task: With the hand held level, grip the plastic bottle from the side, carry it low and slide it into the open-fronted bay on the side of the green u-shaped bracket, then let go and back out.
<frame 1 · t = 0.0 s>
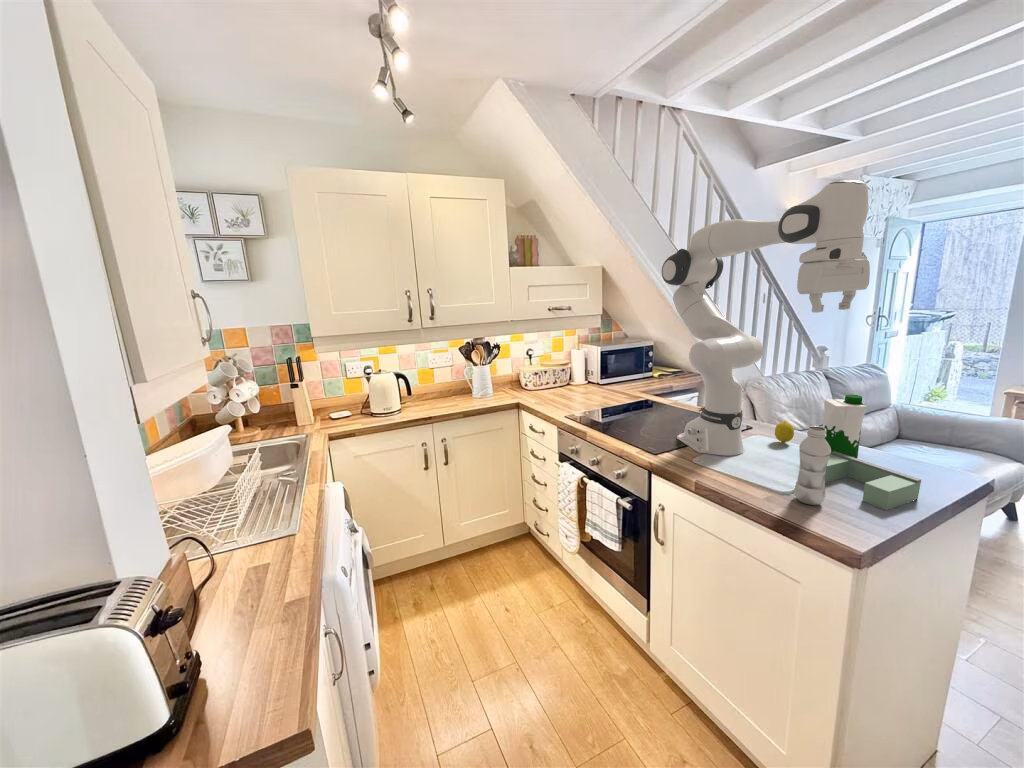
hand: (830, 310, 97), 48 cm above the worktop, tool pointing down, fingers open, 8 cm apart
milk carton: (837, 457, 125), on the worktop
plastic bottle: (808, 502, 101), on the worktop
lemon: (783, 443, 138), on the worktop
green u-shaped bracket: (856, 487, 106), on the worktop
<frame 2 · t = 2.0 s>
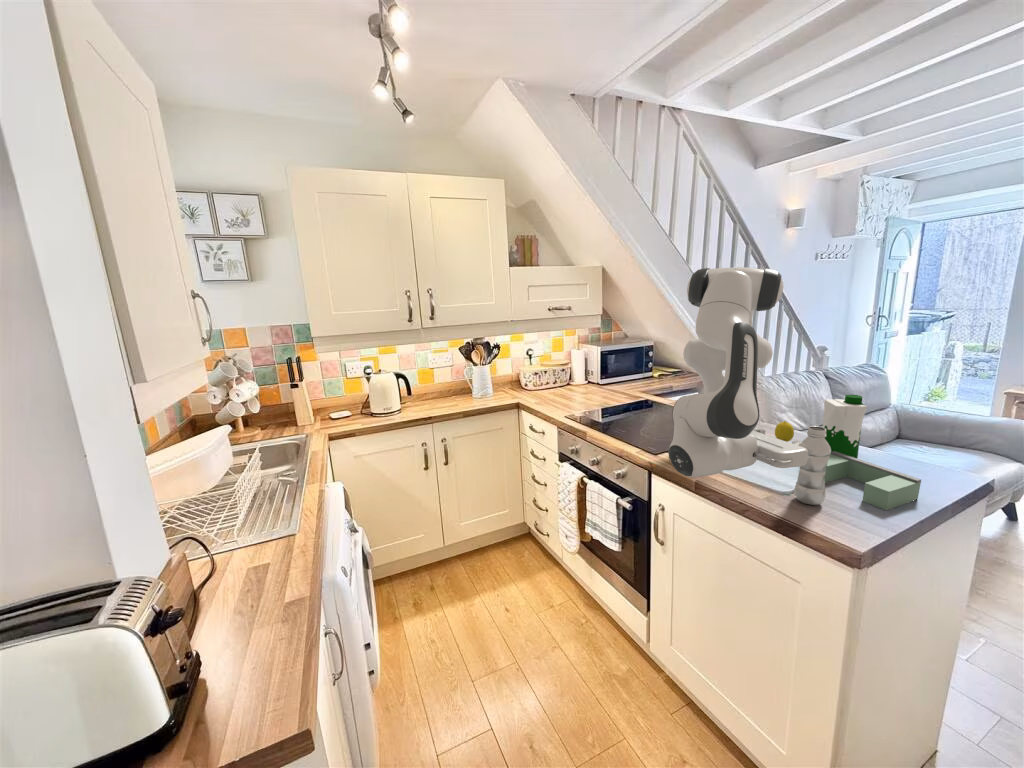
hand: (780, 438, 93), 20 cm above the worktop, tool horizontal, fingers open, 8 cm apart
nothing on the worktop moved.
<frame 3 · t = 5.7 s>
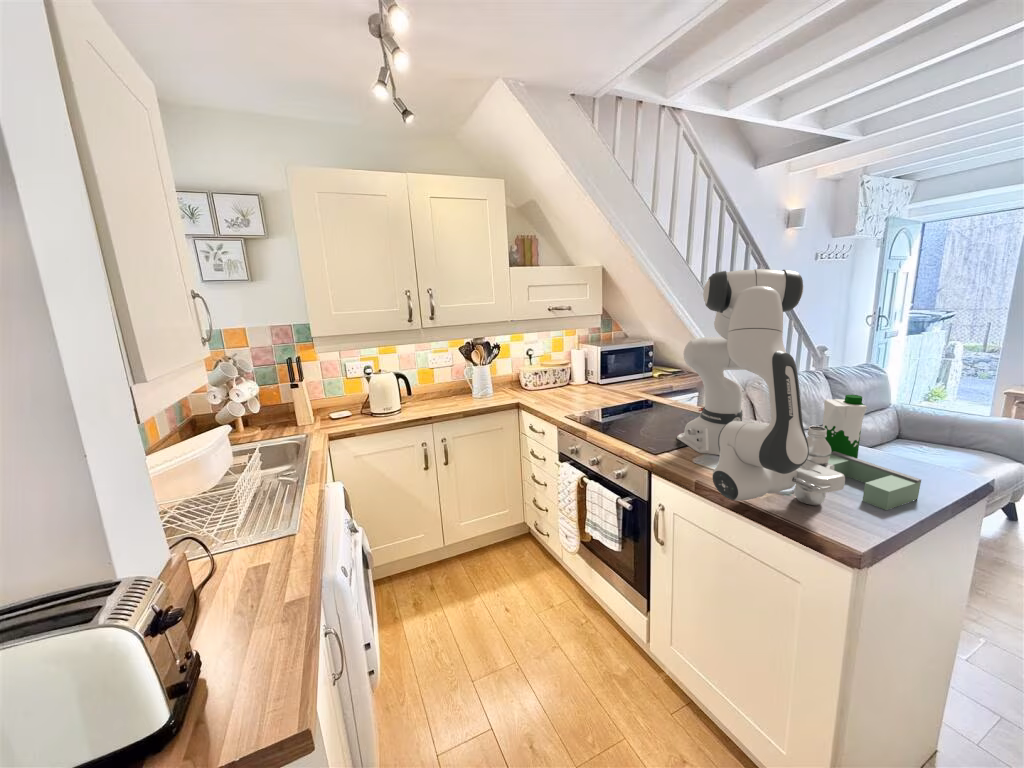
hand: (815, 461, 99), 11 cm above the worktop, tool horizontal, fingers closed on plastic bottle, 6 cm apart
plastic bottle: (808, 502, 101), on the worktop, touching gripper
everything else where it was.
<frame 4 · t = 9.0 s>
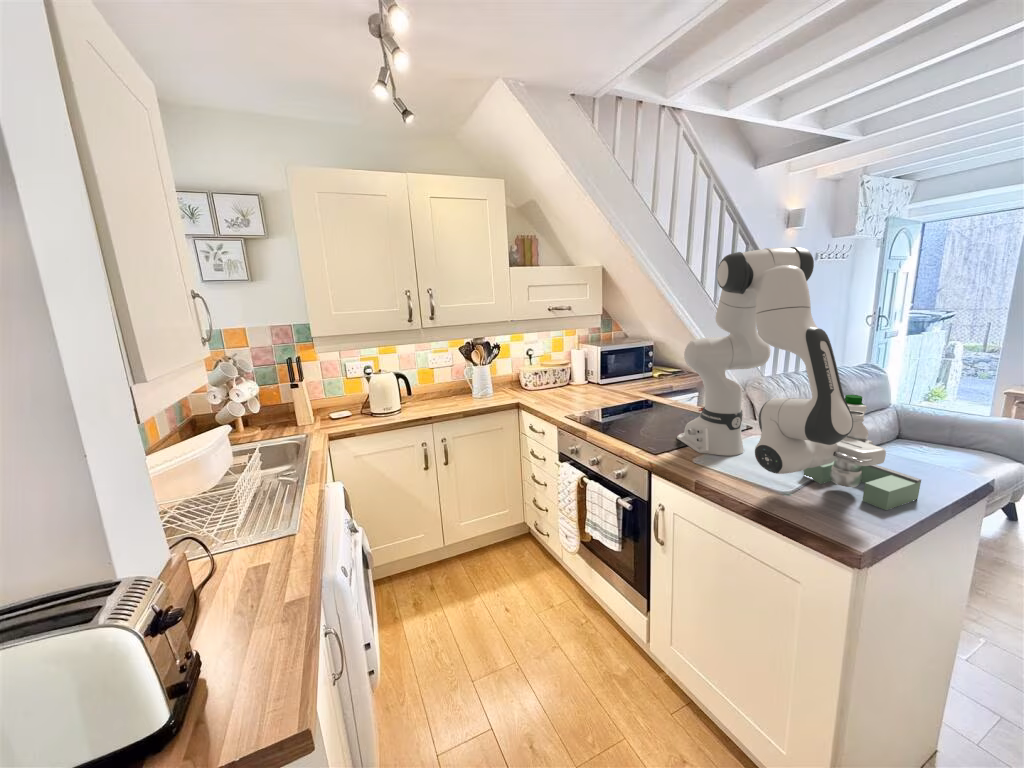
hand: (853, 438, 102), 15 cm above the worktop, tool horizontal, fingers closed on plastic bottle, 6 cm apart
plastic bottle: (844, 485, 104), point 2 cm above the worktop, touching gripper
everything else where it was.
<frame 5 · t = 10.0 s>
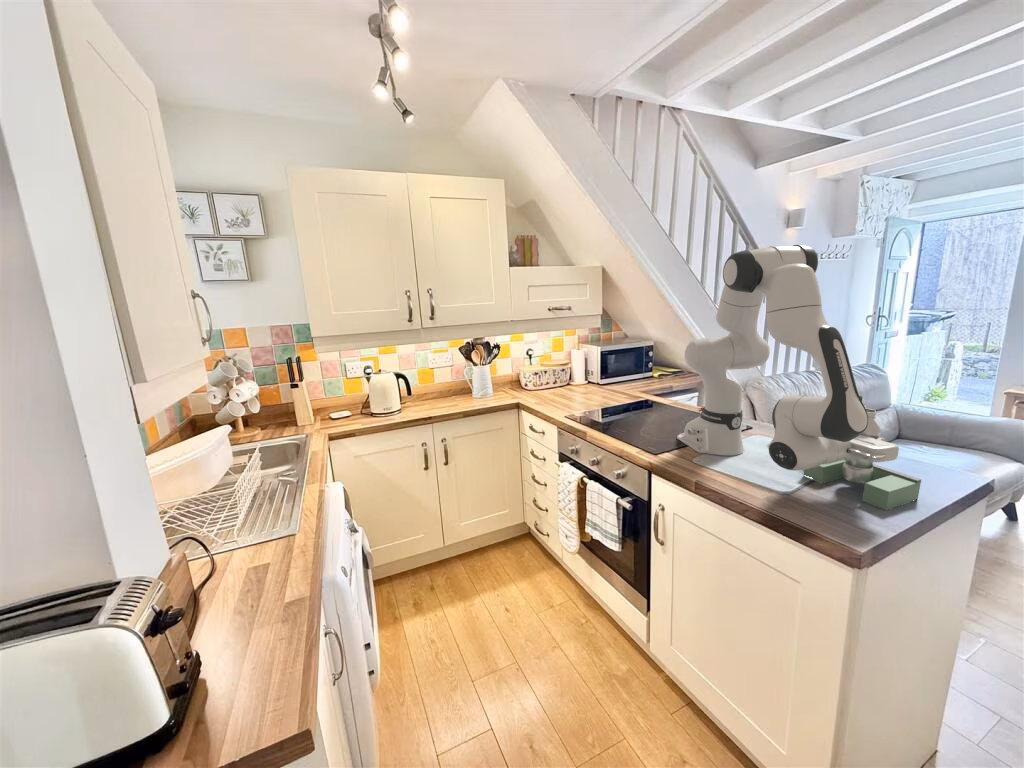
hand: (864, 435, 103), 15 cm above the worktop, tool horizontal, fingers closed on plastic bottle, 6 cm apart
plastic bottle: (855, 481, 105), point 2 cm above the worktop, touching gripper
everything else where it was.
when the fingers open (12 cm above the worktop, at t = 11.1 s): plastic bottle stays where it is, on the worktop.
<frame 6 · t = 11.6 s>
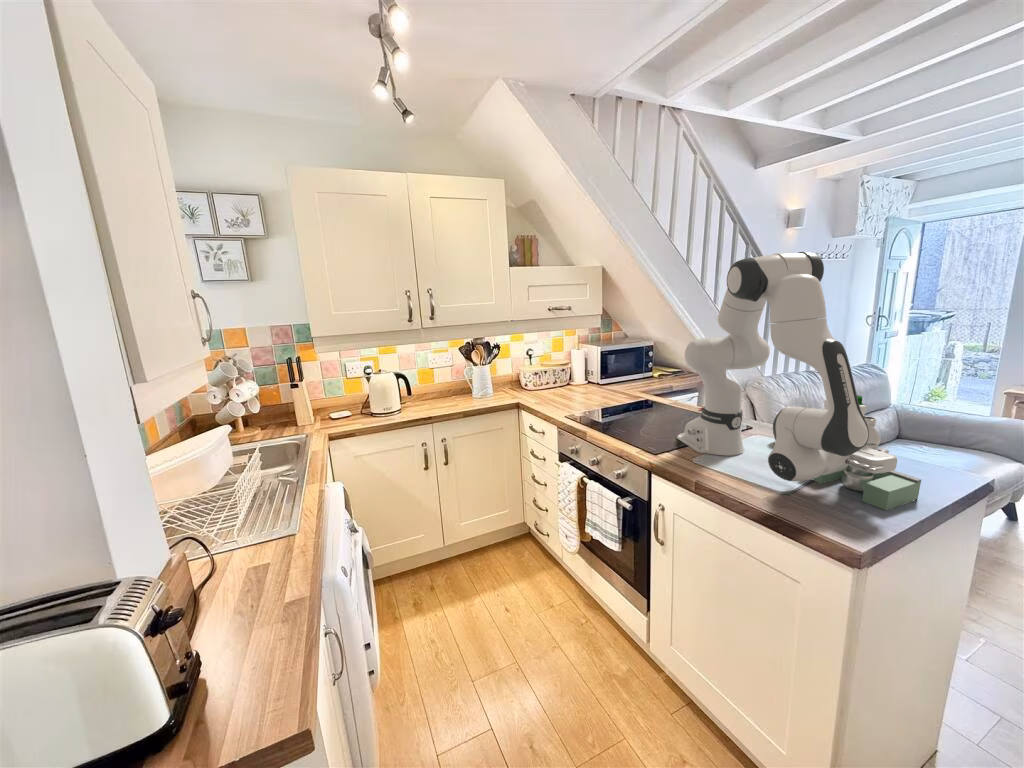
hand: (863, 445, 103), 12 cm above the worktop, tool horizontal, fingers open, 8 cm apart
plastic bottle: (856, 488, 106), on the worktop
everything else where it was.
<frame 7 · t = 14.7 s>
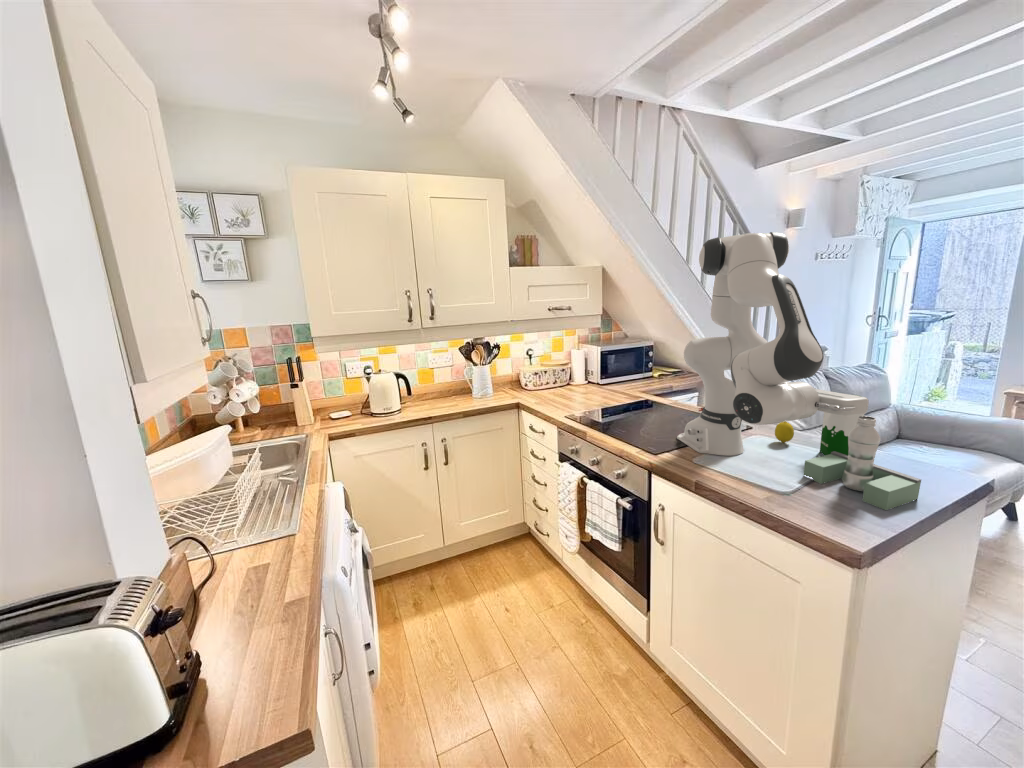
hand: (833, 394, 97), 28 cm above the worktop, tool horizontal, fingers open, 8 cm apart
nothing on the worktop moved.
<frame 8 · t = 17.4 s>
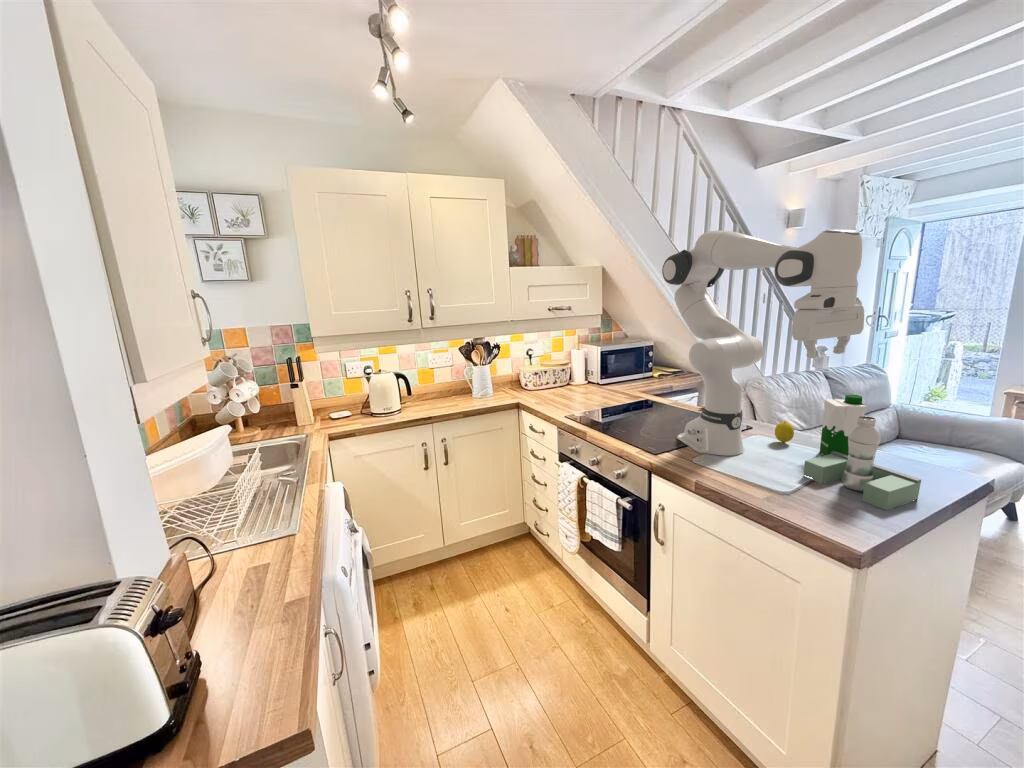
hand: (825, 355, 98), 37 cm above the worktop, tool pointing down, fingers open, 8 cm apart
nothing on the worktop moved.
at the end: plastic bottle inside the target area (0.4 cm from its centre), on the worktop; plastic bottle tilted 0°; the gripper is holding nothing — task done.
